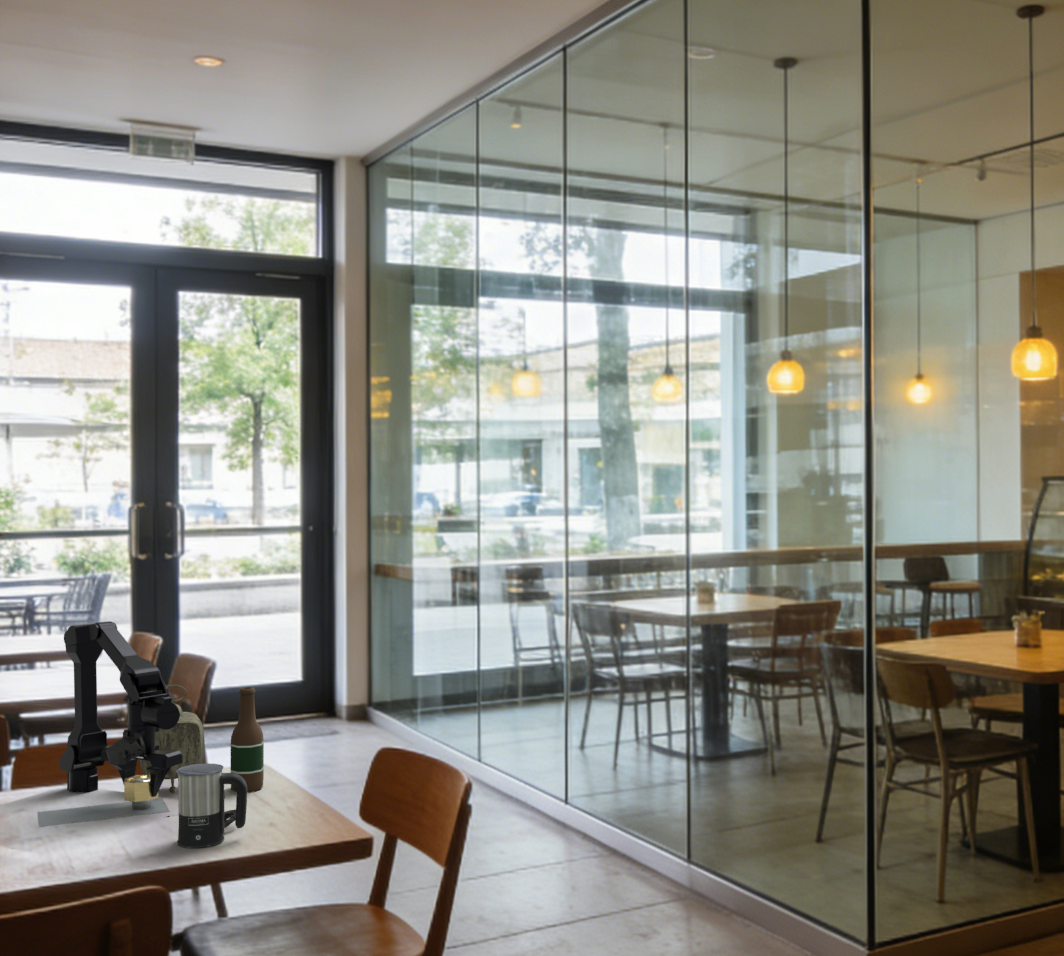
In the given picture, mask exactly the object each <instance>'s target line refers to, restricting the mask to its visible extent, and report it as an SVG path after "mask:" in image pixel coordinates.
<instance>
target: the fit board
mask: <svg viewBox="0 0 1064 956" xmlns="http://www.w3.org/2000/svg"><path fill="white" fill-rule="evenodd" d="M150 780H151V779H150V778H138V779H134V780H132V782H147V781H150ZM161 813H170V810H169V808H168V806H167V803H166V802H165V800H164V798H163V797H158V798H155V799H152V800H149V801H138V802H132V801H123V802H117V803H116V802H115V803H106V804H105V803H104V804H98V805H91V806H89V805H87V806H80V807H71V808H63V809H53V810H45V811H44V810H43V811H37V818H38V819H37V820H38V827H39V828H41V827H43V828H44V827H51V826H57V825H58V826H59V825H60V826H61V825H68V824H76V823H86V822H94V821H101V820H103V821H104V820H109V819H119V818H127V817H134V816H136V817H137V816H144V815H153V814H161ZM165 817H166V818H170V817H171V815H167V816H165ZM165 817H163V818H165Z"/></svg>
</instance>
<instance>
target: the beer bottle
mask: <svg viewBox="0 0 1064 956" xmlns="http://www.w3.org/2000/svg"><path fill="white" fill-rule="evenodd" d="M255 693H256V689H255V688H254V687H253V686H245V687H241V688H240V689H239V694H240V698H239V713H238V721H237V723H236V725H235V727H234V728H233V730H232V733H231V736H230V773H236V774H238V775H240V776H242V777H243V779H244V780H245V781H246V784H247V793H253V792H257V791H261V790H262V788H263V787H264V774H265V773H264V772H265V771H264V766H265V765H264V764H265V763H264V762H265V761H264V757H265V755H264V745H265V744H264V743H265V741H264V733H263V730H262V727H261V725H260V724H259V723H258V722H257V718H256V705H255ZM230 790H231V791H232V792H235V793H237V790H236V788H235V786H234V785H231V784H230Z"/></svg>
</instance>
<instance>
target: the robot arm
mask: <svg viewBox="0 0 1064 956" xmlns="http://www.w3.org/2000/svg"><path fill="white" fill-rule="evenodd" d="M63 634H64V635H63V642H64V645H65V646H64V647H65V652H66V654H67V655H68V657H69V658H70V660H71V661H72V663H73V684H74V686H73V690H74V692H73V693H74V699H73V700H74V726H73V729H72V730H71V731H70V733H69V735H68V737H67V746H66V748H65V750H64V752H63V753H62V755H61V757H60V759H59V760H58V763H59V769H60V770H61V771H62V772H63V771H64V772H67V773H66V777H67V779H66V788H67V789H66V791H68V792H70V793H75V794H79V793H92V792H96V791H98V790H99V774H98V768H99V767H104V766H105V763H106V762H108V764H109V765H110V766H113V768H115V769H116V770H117V771H118V773H119V776H120V778H121V781H122V785H124V779H125V778H128V777H132V776H136V772H137V771H136V770H137V764H138V760H147V761H150V763H151V765H152V766H151V767H148V768H146V769H147V770H148V772H149V773H150V779H151V794H152V797H155V796H156V795H157V793H158V794H159V791H160V788H161V787H162V785H163V782H164V780H165V779H164V778H165V776H166V775H167V773H168V771H169V770H170V768H171V767H172V766H174V765H177V764H181V763H183V755H182V753H181V752H180V751H179V750H171V749H166V750H163V751H159V752H155V751H157V750H159V745H155V732H158V731H159V728H160V729H165V730H168V729H171V728H173V727H174V726H175V725H176V724H177V722H178V721H179V717H180V712H179V709H178V707H177V706H176V705H175V704H176V703H174V704H173V703H172V698H171V697H172V696H170V693H169V691H168V690H169V688H167V685H166V682H165V681H164V678H163V676H162V674H161V671H160V669H159V668H158V667H157V666H156V664H154V663H153V662H152V661H150V660H148V659H145V658H143V657H140V656H139V655H138V654H137V652H136V651H135V650H134V648H133V647H132V646H131V645H130V643H129V642H128V641H127V640H126V639H125V637H124V636H123V635H122V633H121V632H120V631H119V630H118V625H117V624H116V623H115V622H114V621H103V622H102V621H100V622H99V621H98V622H94V623H84V624H72V625H70V626H68V629H66V630H65V632H64V633H63ZM103 651H104V652H105V654H106V655H107V656H108V658H109V659H110V660H111V661H112V662H113V664H114V665H115V666H116V668H117V669H118V671H119V673H120V675H119V682H120V684H121V685H122V687H123V689H124V691H125V692H126V694H127V695H125V696H124V697H123V699H122V700H123V702H125V703H127V728H126V729H123V731H122V737H121V739H118V740H117V741H115V742H114V743H113V744H110V745H108V742H107V741H108V734H107V731H106V730H103V729H102V728H101V727H100V725H99V724H98V688H97V687H98V683H97V679H98V676H97V661H98V660H99V658H100V656H101V654H102V653H103ZM144 755H147V756H144Z"/></svg>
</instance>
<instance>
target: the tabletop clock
mask: <svg viewBox="0 0 1064 956" xmlns="http://www.w3.org/2000/svg"><path fill="white" fill-rule="evenodd" d="M166 686H167V688H168V689H171V688H172V689H173V688H174V689H176V688H177V689H180V690H183V692H184V696H181V697H180V698H177V699H175V697H174V696H170V697H171V698H172V703H173V704H175V705H176V706H177V707H178V709H179V712H180V717H179V721H178V722H177V724H176V725H175V726H174V727H173V728H171V729H168V730H165V729H160V728H159V731H158V732H155V745H159V750H157V751H155V752H159V751H163V750H166V749H171V750H179V751H180V752H181V753H182V755H183V763H181V764H177V765H174V766H172V767H171V768H170V770H169V771H168V773H167V775H166V776H165V778H164V780H170V784H171V786H170V787H169V789H168V791H169V792H170V793H171V794H174V793H176V792H177V788H176V787H175V780H176V779H178V774H177V773H176V770H177V769H179V768H181V767H184V766H189V765H195V764H204V759H205V750H206V749H205V747H206V740H205V731H204V726H203V724H202V721H201V719H200V718H199V717H198V715H197V714H196V713H193V712H189V711H183V709H182V707H181V706H180V705H179V704H177V703H178V702H180V701H181V702H182V701H184V699H186V698H187V696H188V691H187V688H185V687H184V686H182V685H181V684H168V685H166ZM144 756H147V755H144ZM138 760H139V759H138ZM139 764H140V768H141V770H142V772H143V775H150V773H149V772H148V770H147V769H146V768H148V767H151V766H152V765H151V763H150V761H147V760H139Z"/></svg>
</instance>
